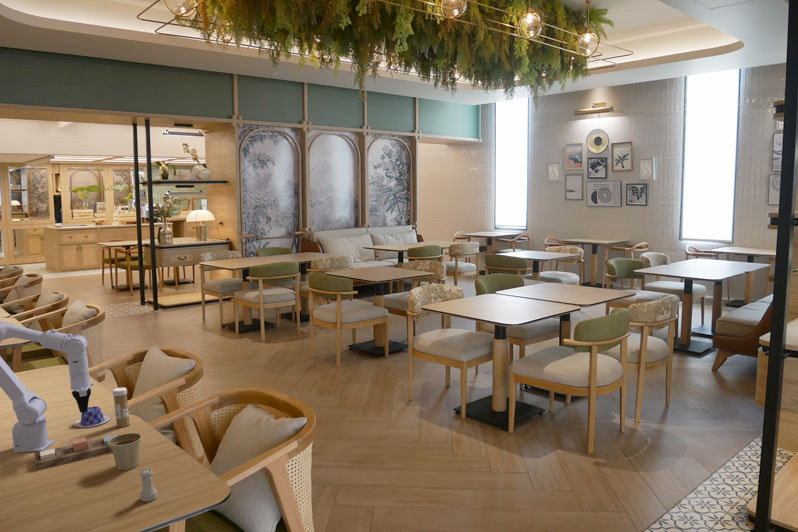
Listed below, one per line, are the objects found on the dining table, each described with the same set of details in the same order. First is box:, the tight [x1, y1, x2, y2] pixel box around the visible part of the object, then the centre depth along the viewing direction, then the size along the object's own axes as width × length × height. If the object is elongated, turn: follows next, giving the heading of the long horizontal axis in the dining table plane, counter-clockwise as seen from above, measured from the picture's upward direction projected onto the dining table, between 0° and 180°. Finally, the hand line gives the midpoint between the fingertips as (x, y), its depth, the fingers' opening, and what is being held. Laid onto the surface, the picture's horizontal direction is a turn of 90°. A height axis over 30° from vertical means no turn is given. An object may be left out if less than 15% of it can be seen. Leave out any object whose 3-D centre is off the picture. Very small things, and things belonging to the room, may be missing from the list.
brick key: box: [71, 436, 88, 452], centre depth 198 cm, size 4×4×3 cm
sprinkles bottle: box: [112, 387, 131, 428], centre depth 220 cm, size 5×5×13 cm
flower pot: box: [108, 432, 143, 471], centre depth 188 cm, size 9×9×9 cm
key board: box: [34, 434, 121, 471], centre depth 198 cm, size 25×9×2 cm, turn 122°
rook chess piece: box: [139, 467, 158, 503], centre depth 167 cm, size 4×4×8 cm
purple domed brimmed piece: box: [73, 406, 111, 428], centre depth 225 cm, size 12×12×5 cm
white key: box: [39, 448, 56, 460], centre depth 193 cm, size 4×4×3 cm
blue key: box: [102, 434, 118, 445], centre depth 202 cm, size 4×4×3 cm
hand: (83, 411), depth 207 cm, fingers closed
